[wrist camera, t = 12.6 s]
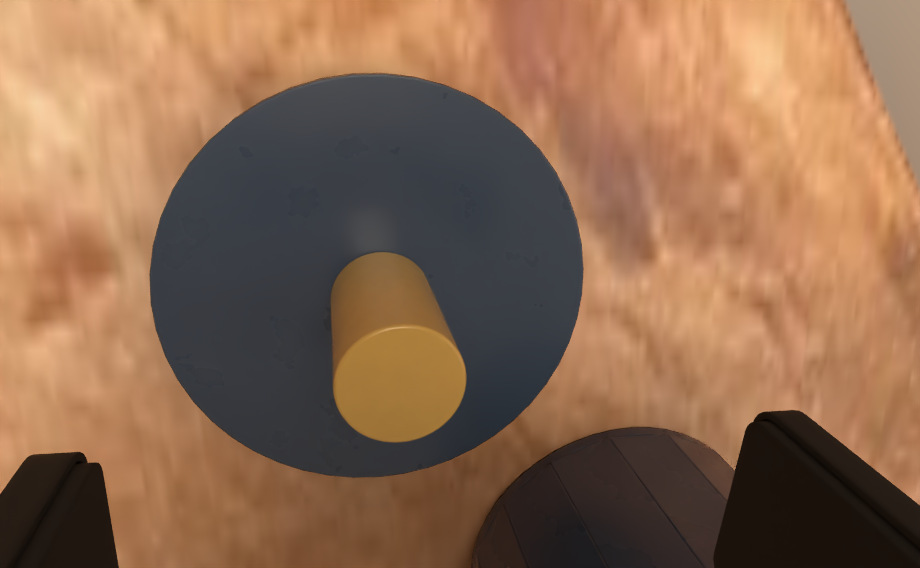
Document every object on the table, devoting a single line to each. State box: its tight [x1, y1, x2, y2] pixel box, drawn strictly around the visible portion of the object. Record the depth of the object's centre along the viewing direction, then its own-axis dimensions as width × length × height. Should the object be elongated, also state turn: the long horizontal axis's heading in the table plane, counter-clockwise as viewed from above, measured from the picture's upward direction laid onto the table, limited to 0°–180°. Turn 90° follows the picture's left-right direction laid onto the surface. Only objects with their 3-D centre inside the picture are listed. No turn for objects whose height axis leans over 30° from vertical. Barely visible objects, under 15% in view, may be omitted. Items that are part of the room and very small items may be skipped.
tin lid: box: [150, 73, 583, 478], centre depth 16 cm, size 12×12×6 cm
